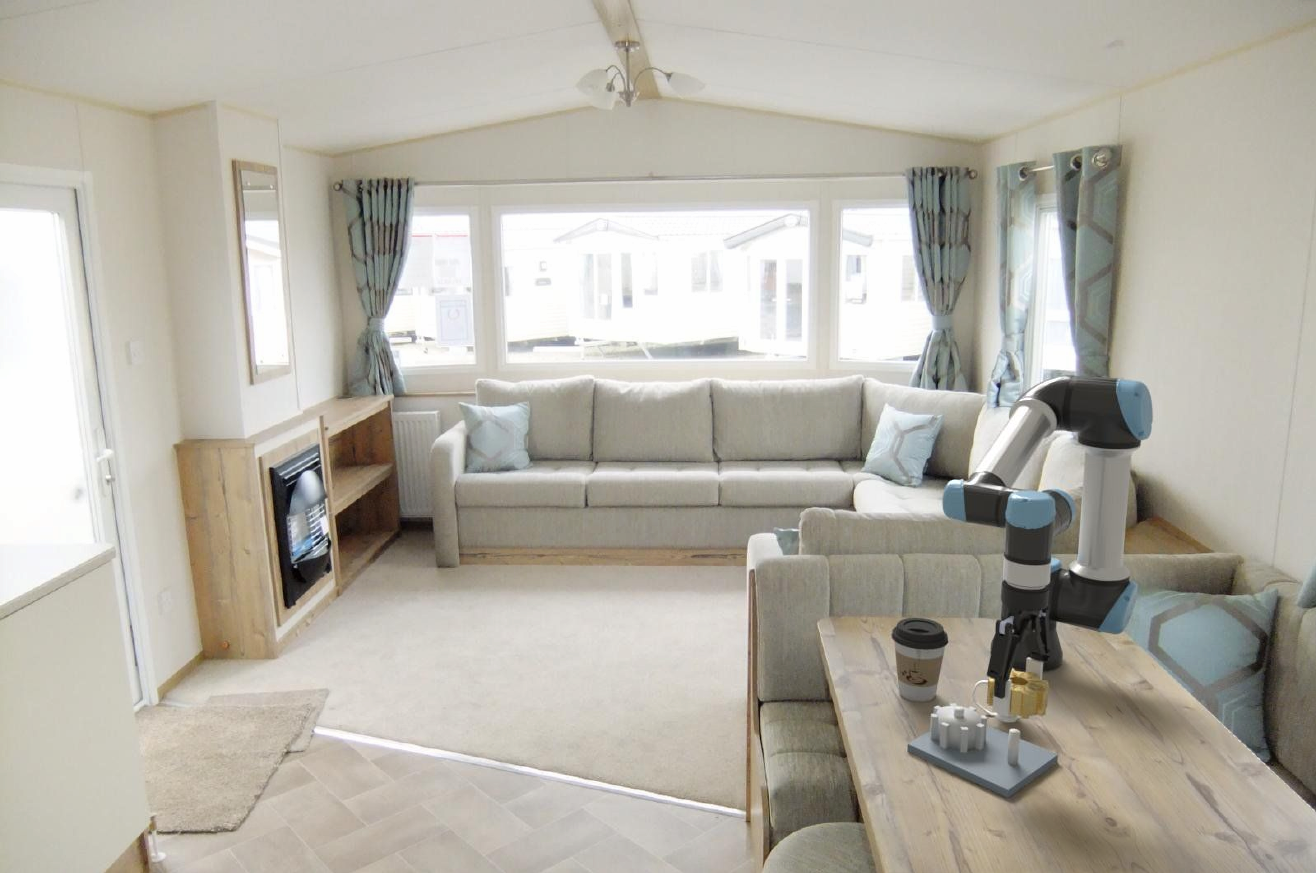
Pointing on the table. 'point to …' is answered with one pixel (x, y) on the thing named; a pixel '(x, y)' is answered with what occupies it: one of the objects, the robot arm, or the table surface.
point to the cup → (1000, 717)
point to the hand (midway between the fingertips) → (1016, 703)
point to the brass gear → (1024, 694)
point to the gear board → (980, 750)
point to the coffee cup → (919, 657)
